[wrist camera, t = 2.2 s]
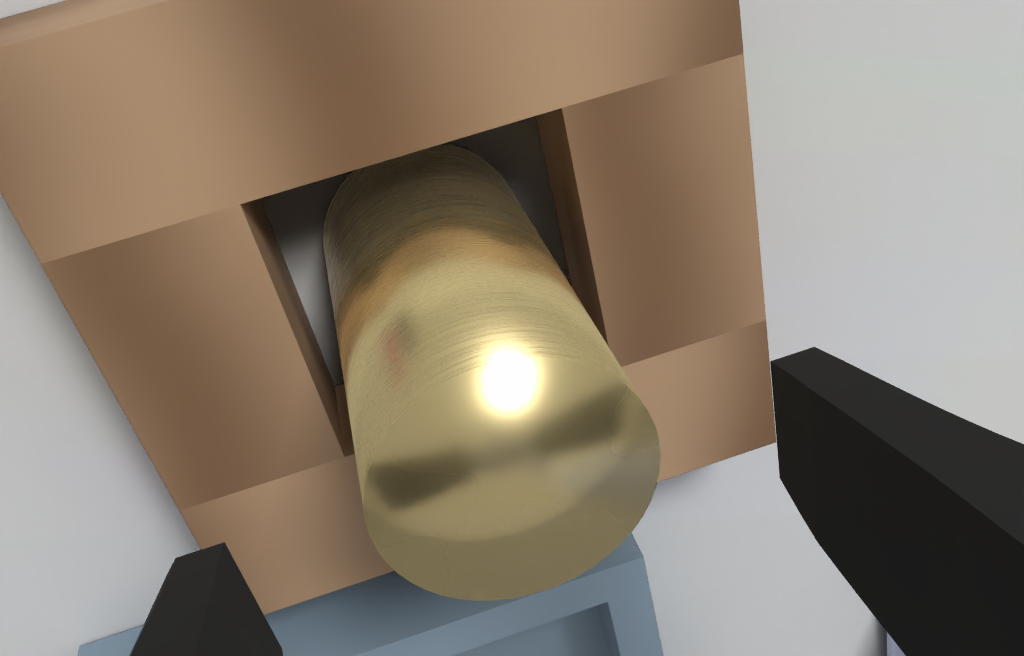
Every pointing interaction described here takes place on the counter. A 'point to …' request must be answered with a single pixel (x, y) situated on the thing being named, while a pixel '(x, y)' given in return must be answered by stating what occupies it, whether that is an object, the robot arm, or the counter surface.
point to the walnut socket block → (346, 147)
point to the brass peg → (477, 385)
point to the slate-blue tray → (466, 619)
